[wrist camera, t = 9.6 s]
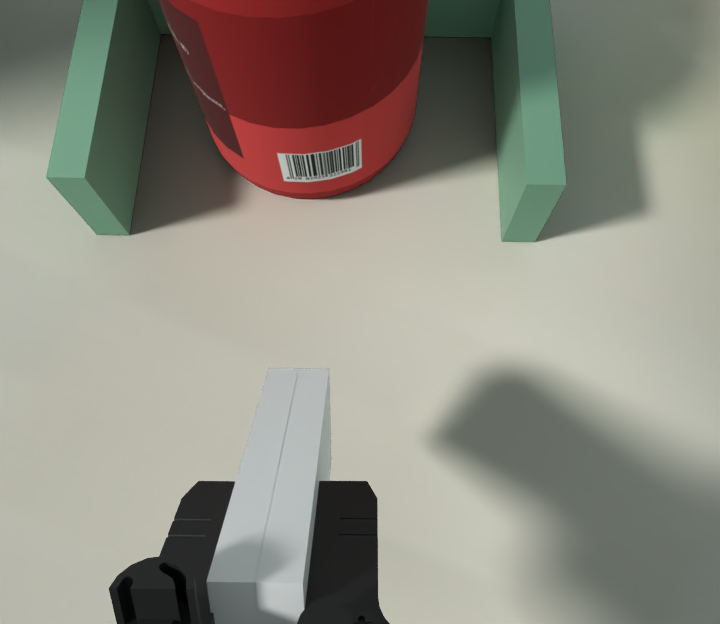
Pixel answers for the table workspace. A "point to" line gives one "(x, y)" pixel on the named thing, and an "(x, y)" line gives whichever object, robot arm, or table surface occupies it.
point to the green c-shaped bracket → (443, 19)
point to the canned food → (303, 85)
